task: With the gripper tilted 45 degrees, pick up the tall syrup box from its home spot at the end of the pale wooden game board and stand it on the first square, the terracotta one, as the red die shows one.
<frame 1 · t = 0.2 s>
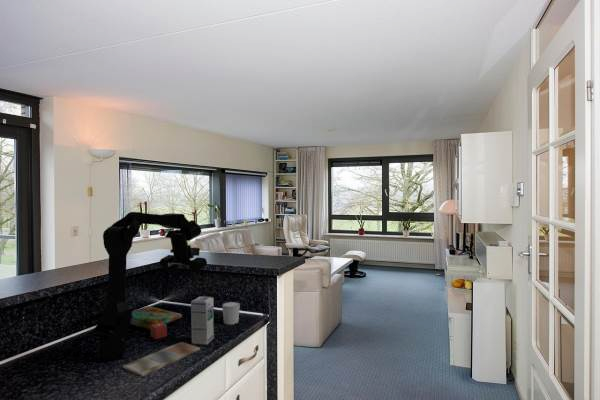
hand: (186, 282, 143), 16 cm above the counter, tool pointing down, fingers open, 9 cm apart
game board: (163, 358, 112), on the counter
syrup box: (202, 341, 125), on the counter
red die: (158, 336, 129), on the counter
puzzle game: (151, 324, 142), on the counter
shot glass: (231, 322, 144), on the counter
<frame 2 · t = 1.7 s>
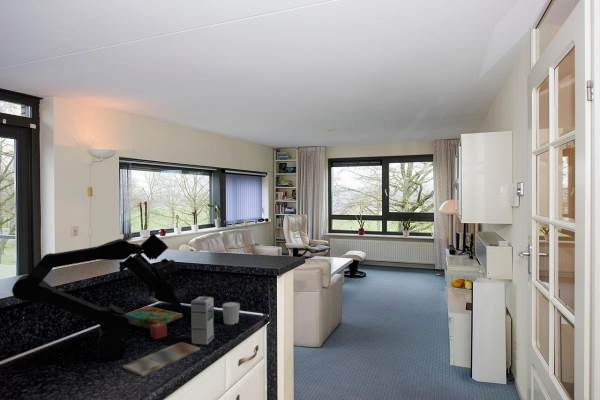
hand: (176, 302, 122), 14 cm above the counter, tool tilted 40°, fingers open, 9 cm apart
nothing on the counter moved.
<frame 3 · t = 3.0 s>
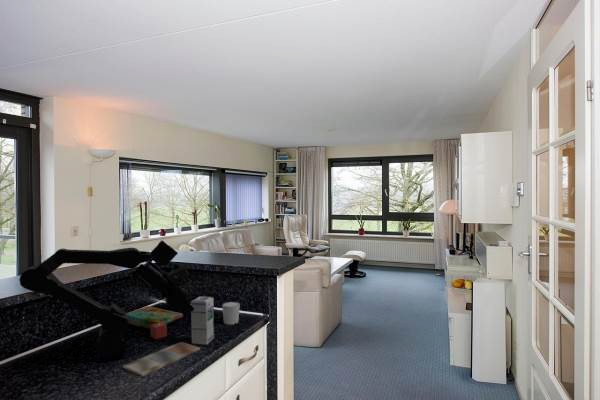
hand: (190, 306, 123), 12 cm above the counter, tool tilted 45°, fingers open, 9 cm apart
nothing on the counter moved.
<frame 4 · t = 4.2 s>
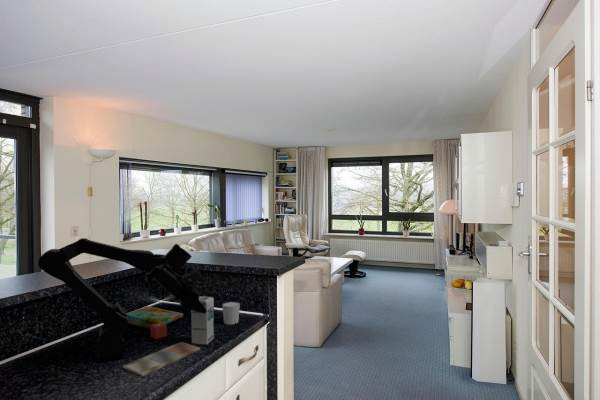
hand: (203, 308, 125), 11 cm above the counter, tool tilted 45°, fingers closed on syrup box, 8 cm apart
syrup box: (202, 341, 125), on the counter, touching gripper
everything else where it was.
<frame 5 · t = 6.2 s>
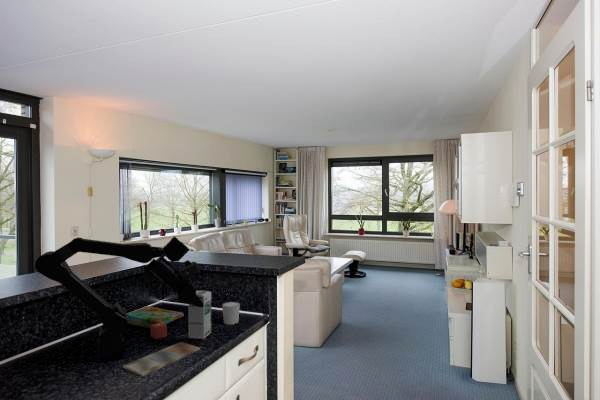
hand: (200, 302, 124), 13 cm above the counter, tool tilted 45°, fingers closed on syrup box, 8 cm apart
syrup box: (199, 335, 124), point 2 cm above the counter, touching gripper
everything else where it was.
when the fingers open (12 cm above the counter, at t = 8.2 s): syrup box stays where it is, resting on game board.
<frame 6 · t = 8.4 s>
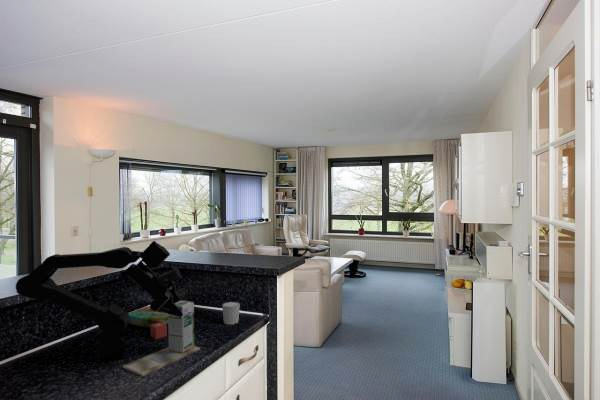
hand: (182, 311, 117), 13 cm above the counter, tool tilted 45°, fingers open, 9 cm apart
syrup box: (181, 348, 117), resting on game board
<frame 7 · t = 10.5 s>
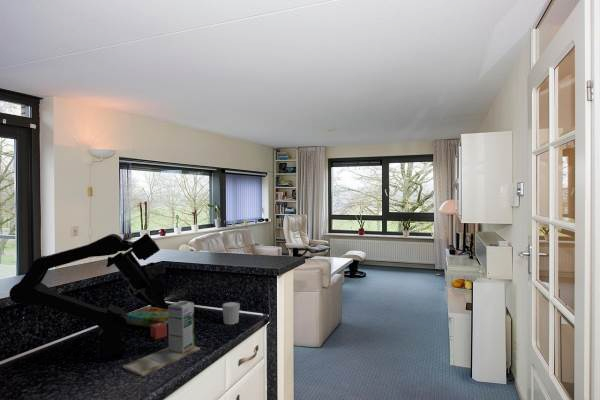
hand: (160, 307, 118), 14 cm above the counter, tool tilted 35°, fingers open, 9 cm apart
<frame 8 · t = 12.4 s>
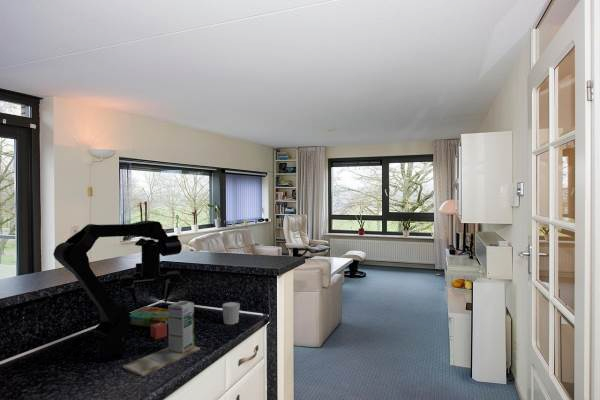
hand: (150, 304, 123), 13 cm above the counter, tool pointing down, fingers open, 9 cm apart
at the end: syrup box 0.3 cm from the target spot on the game board, point 0.4 cm above the game board's base; syrup box tilted 0°; the gripper is holding nothing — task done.
